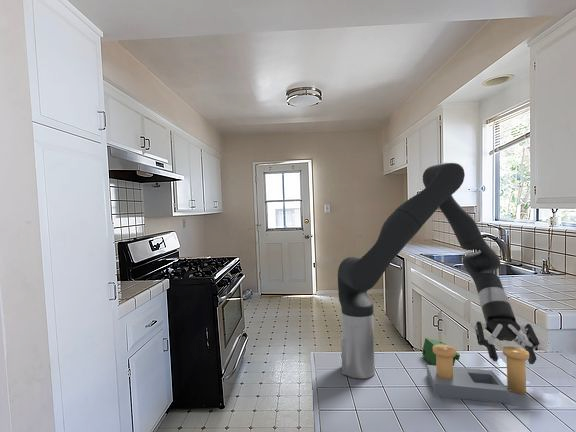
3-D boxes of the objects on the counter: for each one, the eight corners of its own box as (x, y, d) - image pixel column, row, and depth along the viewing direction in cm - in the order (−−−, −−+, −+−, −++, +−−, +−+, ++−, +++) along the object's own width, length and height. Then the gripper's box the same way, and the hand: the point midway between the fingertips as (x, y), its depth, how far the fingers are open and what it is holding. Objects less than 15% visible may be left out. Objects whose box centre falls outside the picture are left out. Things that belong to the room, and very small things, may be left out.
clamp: (451, 383, 96) (464, 360, 93) (432, 378, 96) (444, 356, 93) (437, 352, 107) (448, 331, 104) (420, 348, 107) (430, 327, 104)
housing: (435, 395, 81) (434, 355, 82) (427, 375, 92) (426, 340, 92) (509, 403, 78) (508, 361, 78) (492, 381, 88) (491, 344, 88)
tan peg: (509, 394, 82) (508, 354, 82) (500, 383, 87) (499, 345, 87) (534, 396, 81) (533, 356, 81) (523, 385, 86) (522, 347, 86)
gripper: (471, 298, 96) (487, 353, 84) (527, 300, 92) (550, 357, 81) (466, 311, 101) (480, 365, 89) (518, 314, 97) (540, 369, 86)
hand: (514, 361), depth 85 cm, fingers open, 8 cm apart
